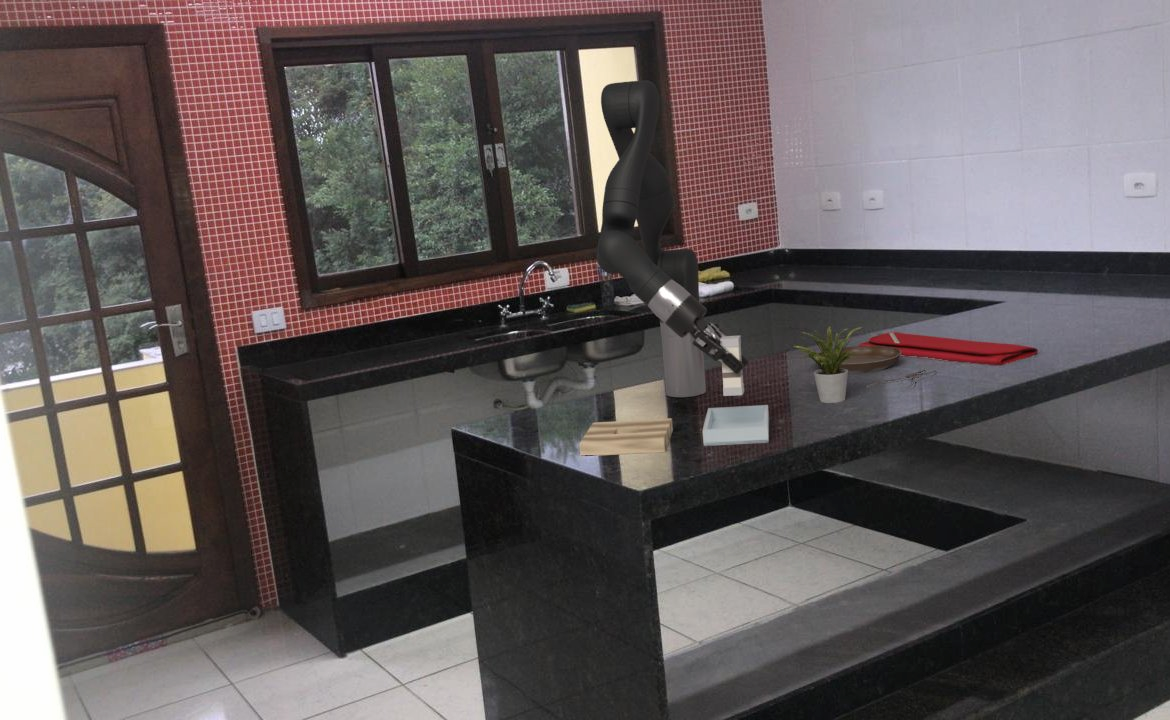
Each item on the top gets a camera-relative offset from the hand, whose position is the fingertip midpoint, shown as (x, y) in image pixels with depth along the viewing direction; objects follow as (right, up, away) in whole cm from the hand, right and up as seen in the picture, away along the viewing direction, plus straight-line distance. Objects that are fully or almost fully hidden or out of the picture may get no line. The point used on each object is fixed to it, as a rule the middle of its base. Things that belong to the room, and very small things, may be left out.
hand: (743, 367), depth 205 cm
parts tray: (-1, -13, +3) cm, 13 cm away
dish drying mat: (+58, +2, +59) cm, 83 cm away
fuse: (-2, -5, +1) cm, 5 cm away
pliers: (+40, -4, +34) cm, 52 cm away
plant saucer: (+36, 0, +54) cm, 65 cm away
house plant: (+23, -7, +23) cm, 33 cm away
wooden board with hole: (-22, -15, +3) cm, 27 cm away
